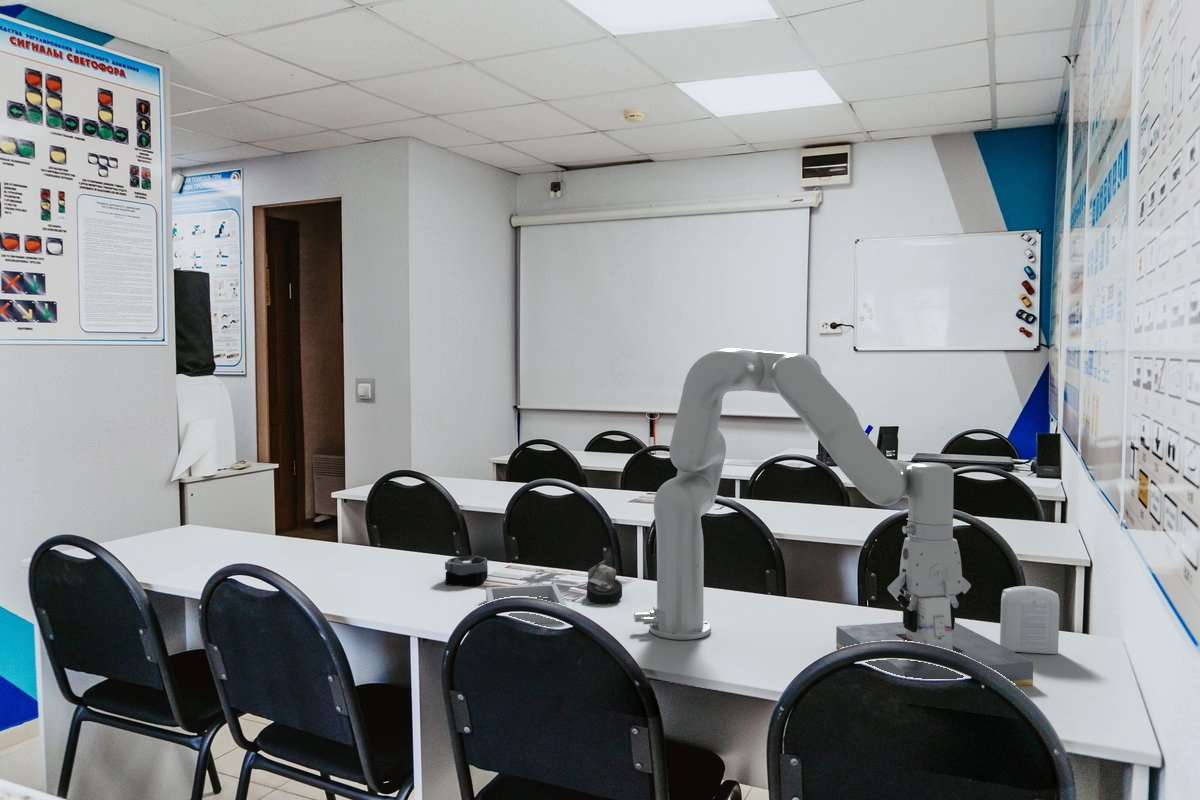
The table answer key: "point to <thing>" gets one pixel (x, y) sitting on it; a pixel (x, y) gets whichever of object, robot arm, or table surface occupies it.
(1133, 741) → the table surface
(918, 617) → the ink cartridge box
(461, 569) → the cpu cooler
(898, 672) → the dock
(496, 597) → the charger corral
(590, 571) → the caster wheel
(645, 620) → the robot arm
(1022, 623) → the photo printer
